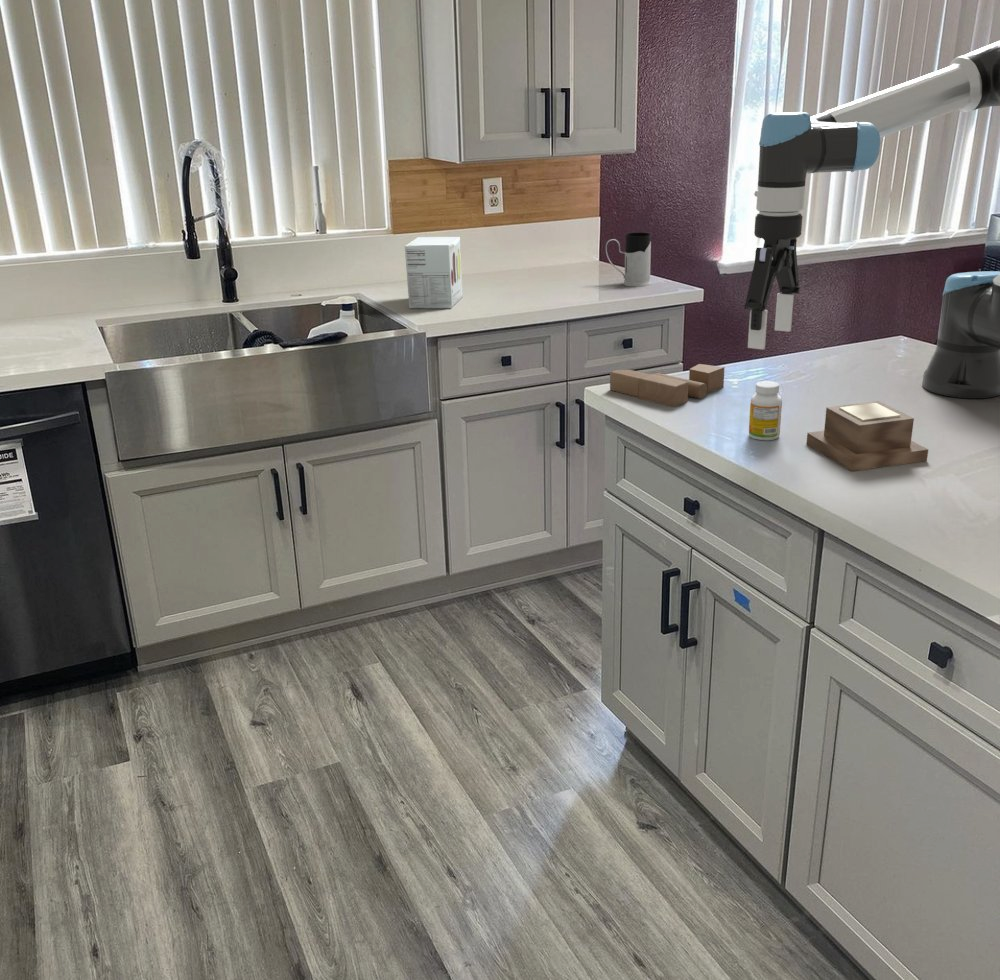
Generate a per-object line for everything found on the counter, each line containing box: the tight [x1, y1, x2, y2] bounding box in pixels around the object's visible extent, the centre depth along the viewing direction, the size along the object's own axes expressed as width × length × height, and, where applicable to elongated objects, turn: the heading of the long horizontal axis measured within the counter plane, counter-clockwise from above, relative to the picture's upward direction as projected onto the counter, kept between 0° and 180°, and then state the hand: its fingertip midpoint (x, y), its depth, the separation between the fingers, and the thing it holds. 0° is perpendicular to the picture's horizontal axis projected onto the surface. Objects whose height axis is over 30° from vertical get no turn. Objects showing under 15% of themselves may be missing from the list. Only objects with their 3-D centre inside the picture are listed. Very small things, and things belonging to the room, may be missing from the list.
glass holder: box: [605, 232, 652, 288], centre depth 306 cm, size 9×14×15 cm, turn 84°
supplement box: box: [404, 236, 464, 309], centre depth 291 cm, size 17×13×18 cm
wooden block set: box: [609, 363, 725, 408], centre depth 206 cm, size 17×6×18 cm
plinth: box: [806, 400, 929, 472], centre depth 168 cm, size 14×14×7 cm
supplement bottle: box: [748, 380, 783, 441], centre depth 177 cm, size 5×5×10 cm
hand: (769, 339), depth 172 cm, fingers open, 13 cm apart
